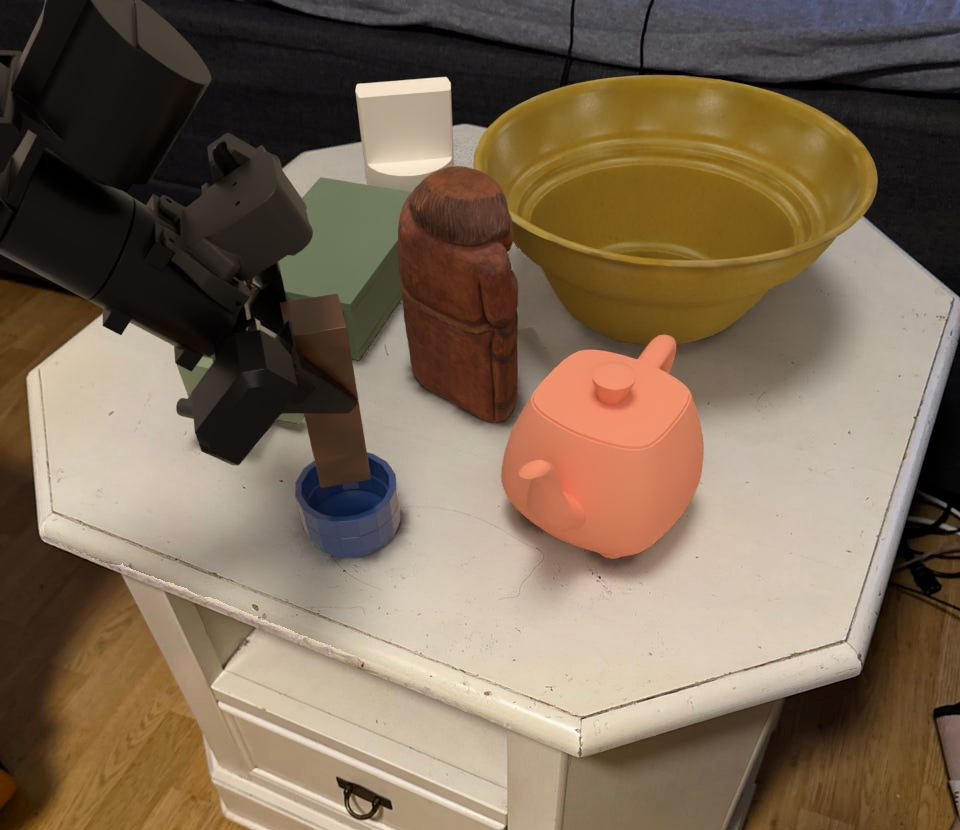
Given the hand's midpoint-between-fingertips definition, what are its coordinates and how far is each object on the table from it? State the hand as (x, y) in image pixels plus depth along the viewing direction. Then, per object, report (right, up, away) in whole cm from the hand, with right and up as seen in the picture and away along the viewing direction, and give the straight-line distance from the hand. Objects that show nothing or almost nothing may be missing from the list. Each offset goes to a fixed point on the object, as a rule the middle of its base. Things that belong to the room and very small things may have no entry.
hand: (348, 387), depth 55 cm
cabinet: (-5, +17, +27) cm, 33 cm away
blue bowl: (-1, -7, +10) cm, 12 cm away
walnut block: (-1, -4, +5) cm, 7 cm away
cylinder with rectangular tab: (+1, +29, +36) cm, 46 cm away
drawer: (-9, +8, +20) cm, 23 cm away
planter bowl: (+24, +15, +26) cm, 38 cm away
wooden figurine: (+7, +6, +19) cm, 21 cm away
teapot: (+17, -7, +10) cm, 21 cm away
